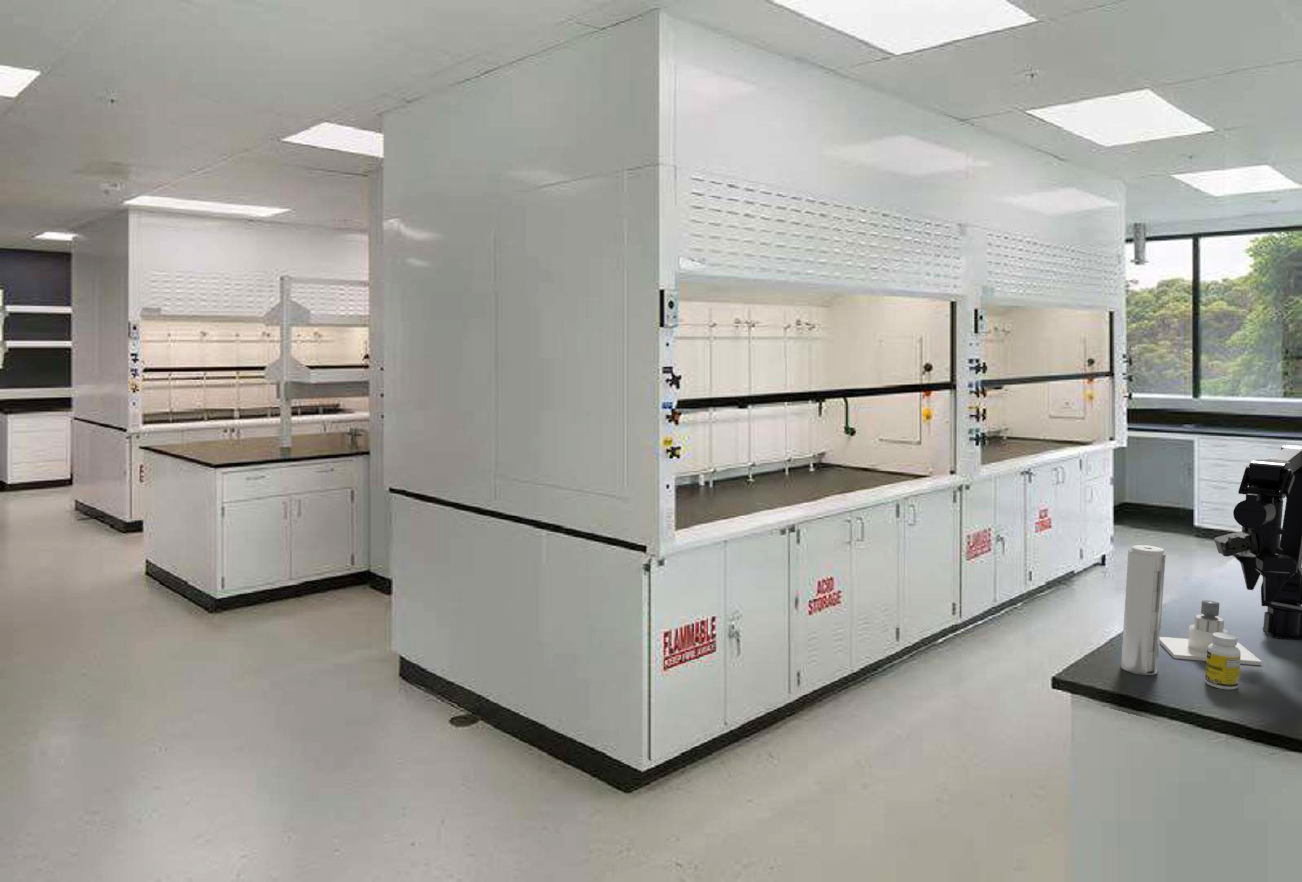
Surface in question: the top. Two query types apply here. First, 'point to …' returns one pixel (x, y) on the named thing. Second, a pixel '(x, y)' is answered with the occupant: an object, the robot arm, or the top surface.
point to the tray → (1182, 651)
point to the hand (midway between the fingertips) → (1258, 595)
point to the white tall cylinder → (1143, 609)
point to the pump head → (1210, 609)
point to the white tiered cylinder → (1204, 632)
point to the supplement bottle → (1223, 662)
